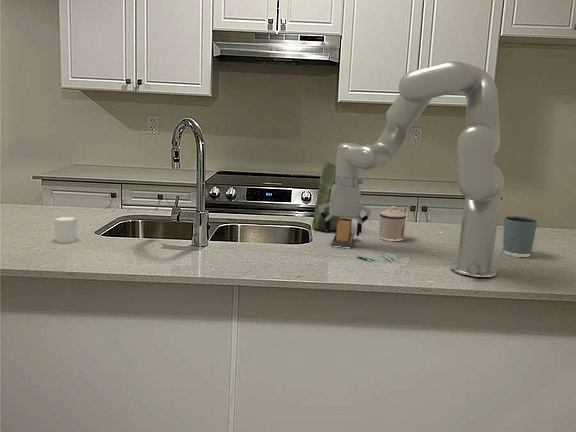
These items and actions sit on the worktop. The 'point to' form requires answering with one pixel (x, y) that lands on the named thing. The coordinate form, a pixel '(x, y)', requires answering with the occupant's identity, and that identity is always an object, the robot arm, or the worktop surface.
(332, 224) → the pouch
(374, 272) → the worktop surface
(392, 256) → the cloth
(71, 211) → the worktop surface
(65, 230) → the white cylinder
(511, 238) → the teal plant pot
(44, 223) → the worktop surface
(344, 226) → the tan wooden block
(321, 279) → the worktop surface
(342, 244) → the rail
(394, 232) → the teacup with lid
